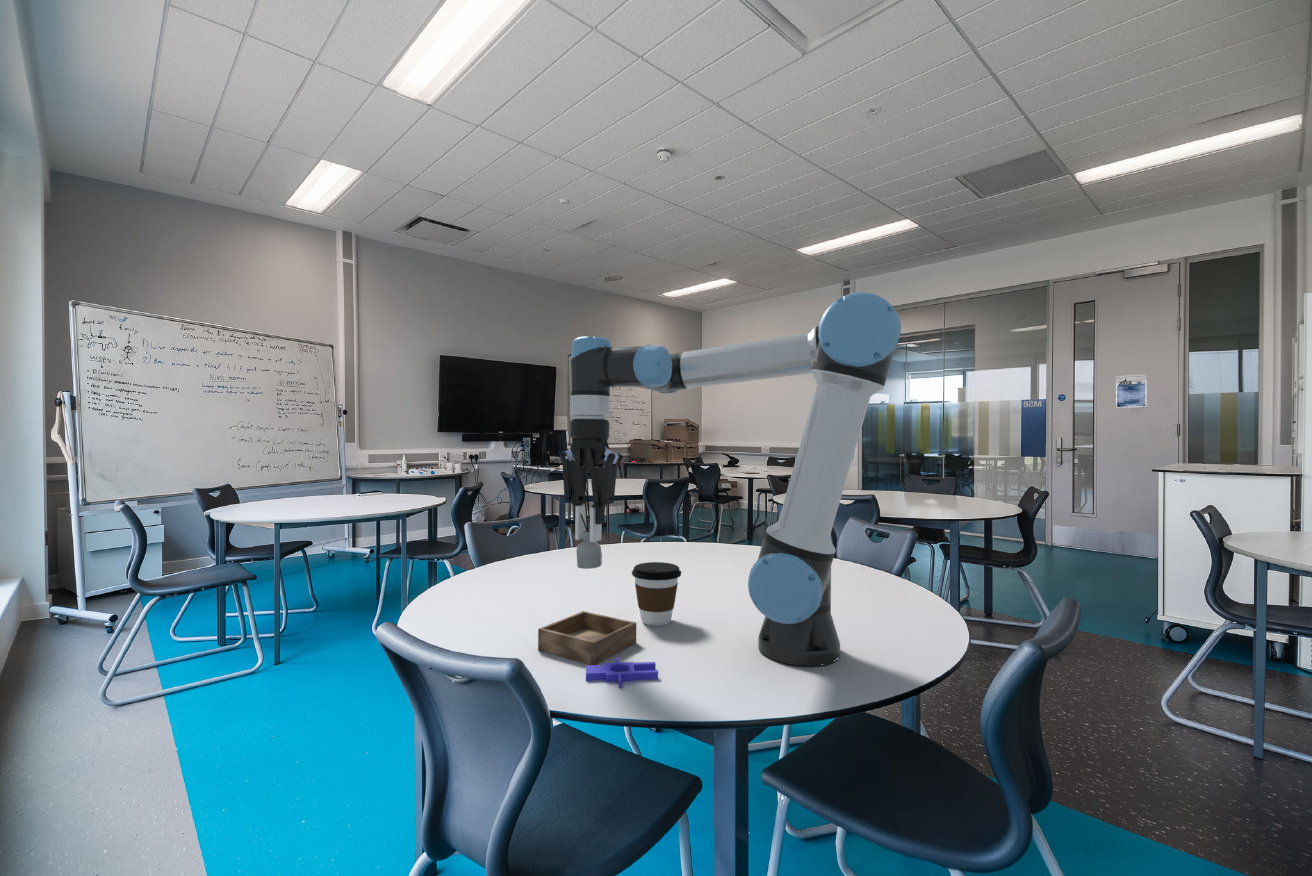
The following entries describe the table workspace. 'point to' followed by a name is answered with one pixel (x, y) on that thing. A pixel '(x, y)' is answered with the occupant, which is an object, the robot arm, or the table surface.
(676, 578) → the coffee cup
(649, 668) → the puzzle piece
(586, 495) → the reed diffuser
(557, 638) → the tray
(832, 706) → the table surface
